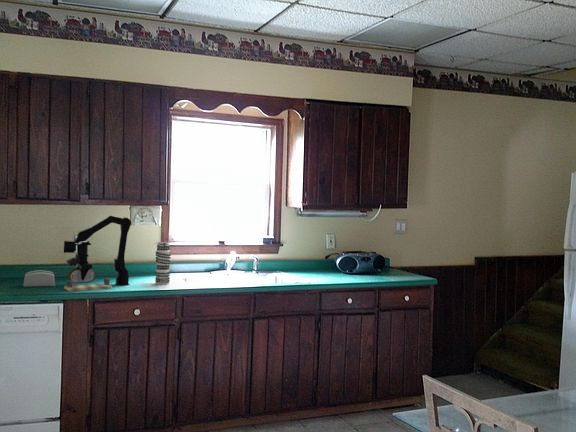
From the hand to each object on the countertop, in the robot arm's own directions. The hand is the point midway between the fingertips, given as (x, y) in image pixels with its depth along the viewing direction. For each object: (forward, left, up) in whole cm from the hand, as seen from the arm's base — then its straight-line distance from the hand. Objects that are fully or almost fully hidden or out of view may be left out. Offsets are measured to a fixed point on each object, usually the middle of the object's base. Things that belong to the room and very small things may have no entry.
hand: (81, 279), depth 361 cm
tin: (0, 0, -2) cm, 2 cm away
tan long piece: (0, +12, -3) cm, 12 cm away
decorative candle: (-45, +11, -4) cm, 46 cm away
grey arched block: (+22, -8, -4) cm, 23 cm away
